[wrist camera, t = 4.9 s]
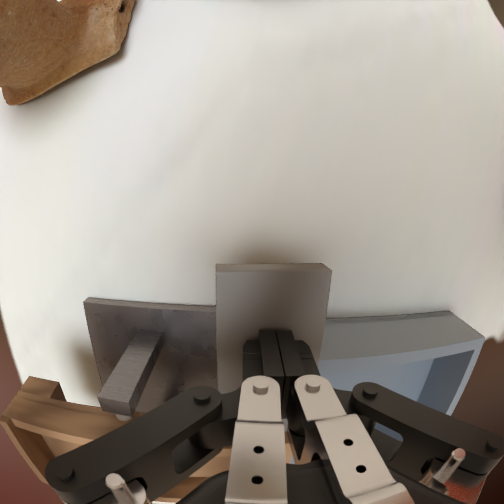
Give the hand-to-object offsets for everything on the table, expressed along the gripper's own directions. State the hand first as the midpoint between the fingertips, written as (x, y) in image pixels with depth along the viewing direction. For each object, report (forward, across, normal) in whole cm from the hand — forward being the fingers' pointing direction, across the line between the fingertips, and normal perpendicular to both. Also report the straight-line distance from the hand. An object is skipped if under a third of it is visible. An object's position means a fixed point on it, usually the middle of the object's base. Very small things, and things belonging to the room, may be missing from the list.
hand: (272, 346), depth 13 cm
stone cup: (+10, +18, -20) cm, 28 cm away
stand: (+9, +9, +10) cm, 16 cm away
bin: (+9, -11, +10) cm, 18 cm away
